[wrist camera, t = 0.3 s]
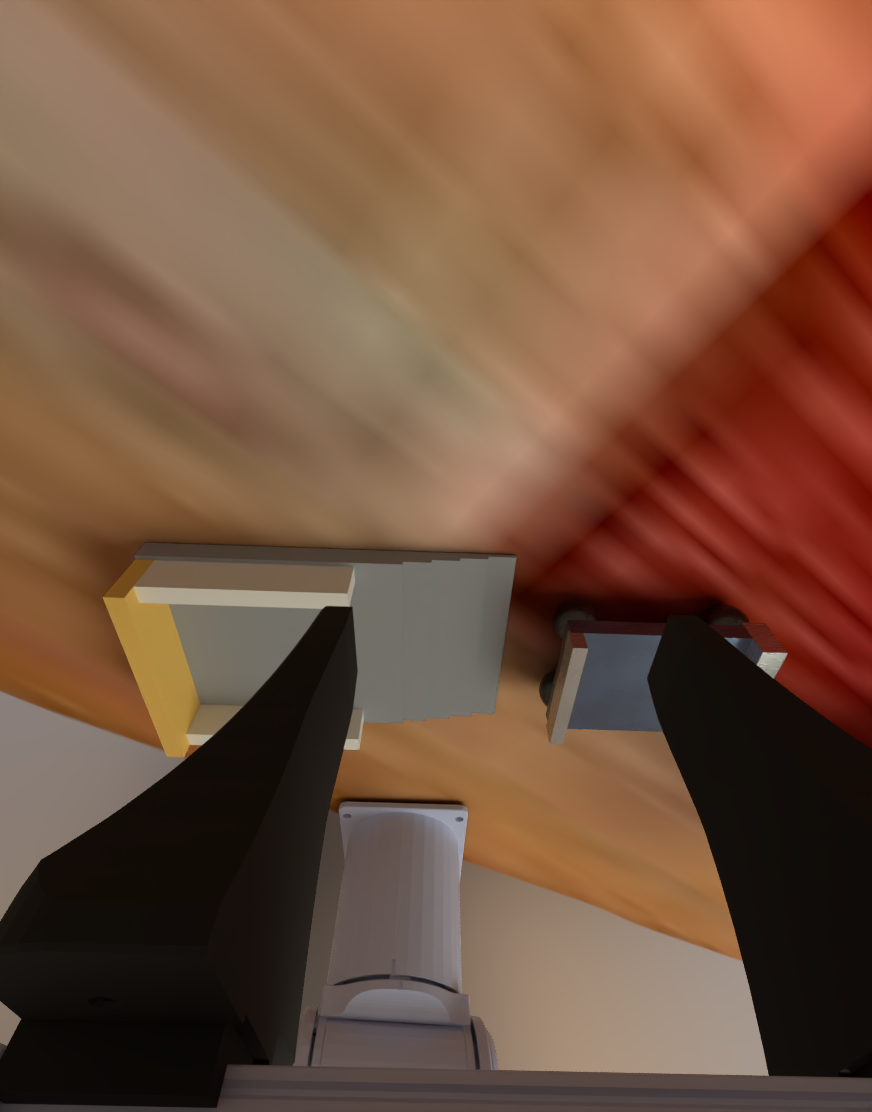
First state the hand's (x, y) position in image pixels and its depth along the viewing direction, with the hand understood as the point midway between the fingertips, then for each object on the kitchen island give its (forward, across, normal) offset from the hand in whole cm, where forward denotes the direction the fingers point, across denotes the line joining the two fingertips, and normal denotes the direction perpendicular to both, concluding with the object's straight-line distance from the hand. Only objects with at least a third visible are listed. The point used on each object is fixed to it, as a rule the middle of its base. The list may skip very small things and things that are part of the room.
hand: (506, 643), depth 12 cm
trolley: (+10, -8, +9) cm, 15 cm away
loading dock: (+10, +6, +9) cm, 15 cm away
